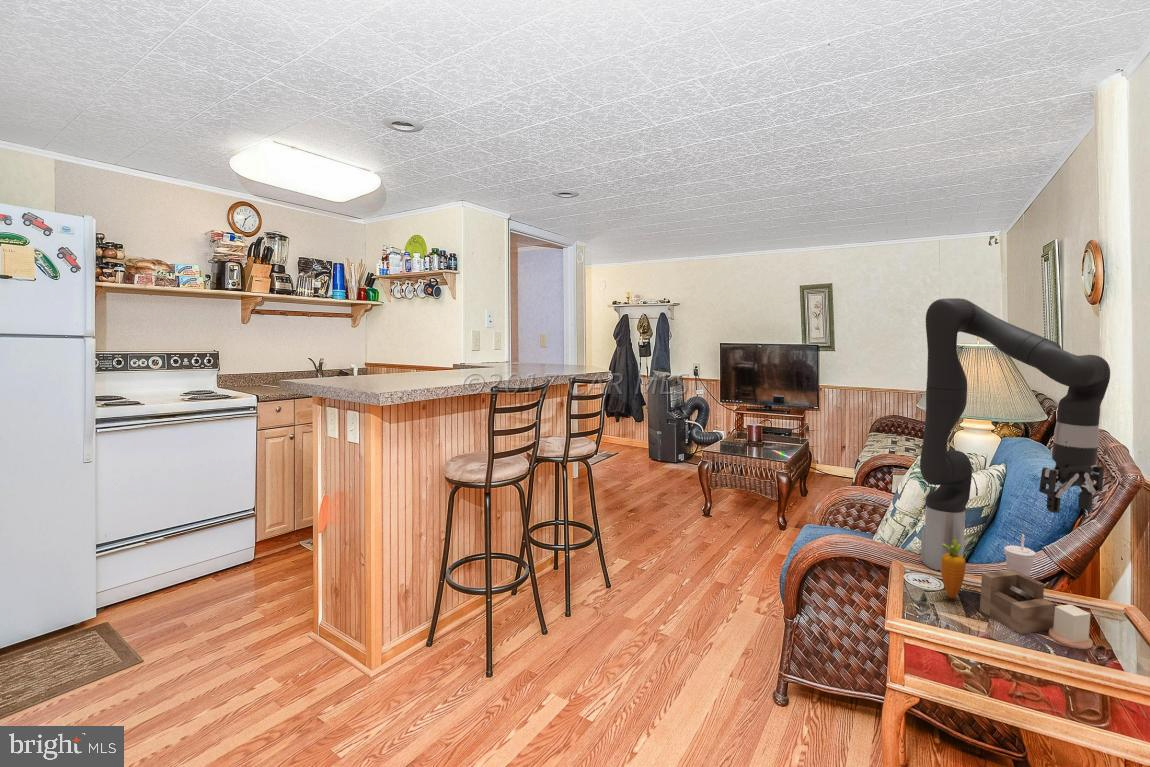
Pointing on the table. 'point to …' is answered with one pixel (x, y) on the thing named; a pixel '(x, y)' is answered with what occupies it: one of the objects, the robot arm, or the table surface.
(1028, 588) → the box
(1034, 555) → the smoothie
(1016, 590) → the dark grey long block
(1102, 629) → the table surface
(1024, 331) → the robot arm
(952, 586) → the carrot
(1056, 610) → the cream block
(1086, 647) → the terracotta dish
